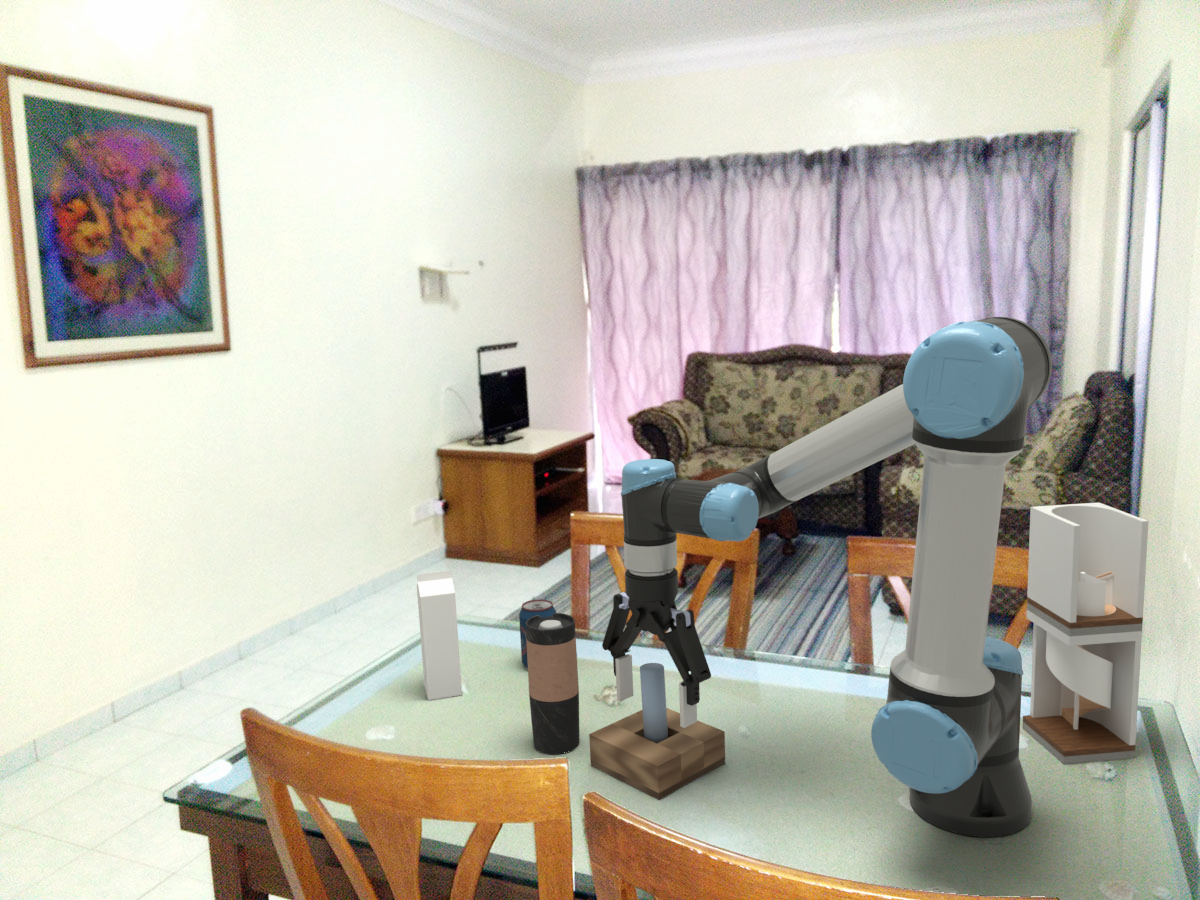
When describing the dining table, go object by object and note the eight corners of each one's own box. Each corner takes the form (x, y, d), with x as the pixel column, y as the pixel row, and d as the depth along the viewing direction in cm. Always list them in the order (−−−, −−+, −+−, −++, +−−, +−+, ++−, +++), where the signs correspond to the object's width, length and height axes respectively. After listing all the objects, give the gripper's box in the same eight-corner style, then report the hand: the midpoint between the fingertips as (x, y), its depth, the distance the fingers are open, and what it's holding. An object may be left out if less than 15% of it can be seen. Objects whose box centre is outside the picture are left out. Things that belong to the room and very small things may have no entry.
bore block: (725, 763, 143) (724, 731, 142) (659, 799, 134) (657, 766, 133) (656, 733, 154) (655, 703, 153) (590, 765, 144) (589, 734, 143)
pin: (674, 757, 143) (669, 666, 141) (657, 765, 141) (651, 673, 139) (657, 750, 146) (652, 661, 144) (640, 758, 144) (634, 667, 142)
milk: (462, 695, 171) (454, 574, 167) (427, 701, 169) (418, 579, 165) (457, 682, 177) (449, 565, 173) (423, 687, 175) (415, 569, 171)
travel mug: (563, 760, 146) (556, 633, 143) (522, 748, 150) (514, 625, 147) (590, 738, 153) (585, 616, 149) (550, 728, 157) (544, 609, 153)
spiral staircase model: (1022, 728, 150) (1030, 506, 144) (1088, 722, 151) (1099, 502, 145) (1063, 764, 139) (1074, 525, 133) (1134, 758, 140) (1148, 521, 134)
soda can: (519, 661, 185) (515, 600, 183) (555, 656, 187) (552, 596, 184) (525, 675, 178) (521, 612, 176) (562, 670, 180) (559, 608, 178)
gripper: (734, 579, 132) (737, 727, 136) (611, 547, 150) (616, 679, 154) (697, 592, 127) (701, 746, 131) (574, 558, 145) (581, 694, 149)
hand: (655, 710), depth 142 cm, fingers open, 12 cm apart
